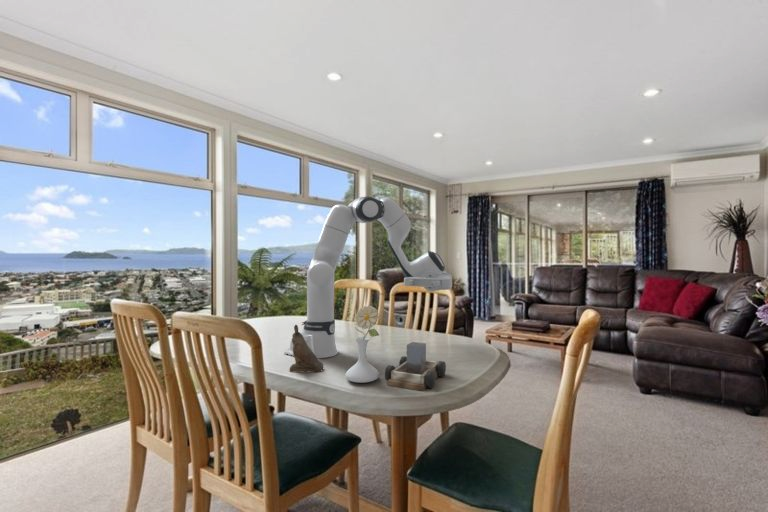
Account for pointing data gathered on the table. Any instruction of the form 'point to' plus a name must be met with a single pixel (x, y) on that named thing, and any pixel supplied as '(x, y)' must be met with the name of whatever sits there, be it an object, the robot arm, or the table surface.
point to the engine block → (416, 358)
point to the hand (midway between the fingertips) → (421, 283)
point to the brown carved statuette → (303, 355)
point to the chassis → (414, 375)
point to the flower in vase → (364, 347)
